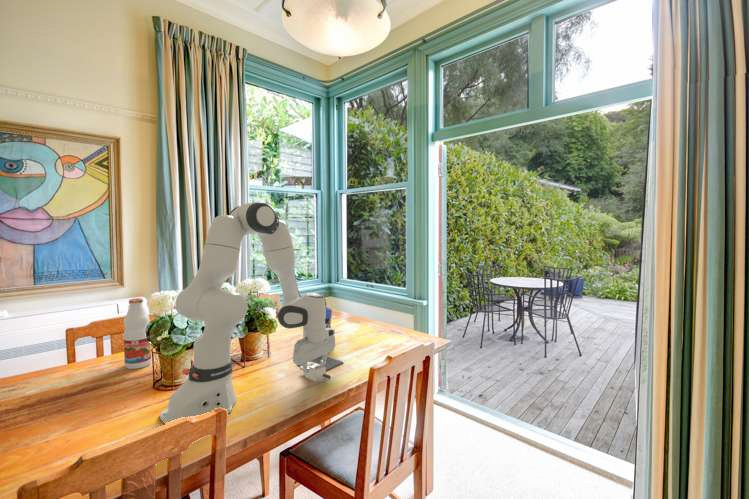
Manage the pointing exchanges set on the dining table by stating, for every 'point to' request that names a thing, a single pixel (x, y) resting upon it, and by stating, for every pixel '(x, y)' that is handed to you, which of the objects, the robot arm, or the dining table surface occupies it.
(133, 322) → the fruit juice
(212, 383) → the robot arm
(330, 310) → the water bottle
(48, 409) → the dining table surface
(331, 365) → the mat
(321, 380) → the plug
